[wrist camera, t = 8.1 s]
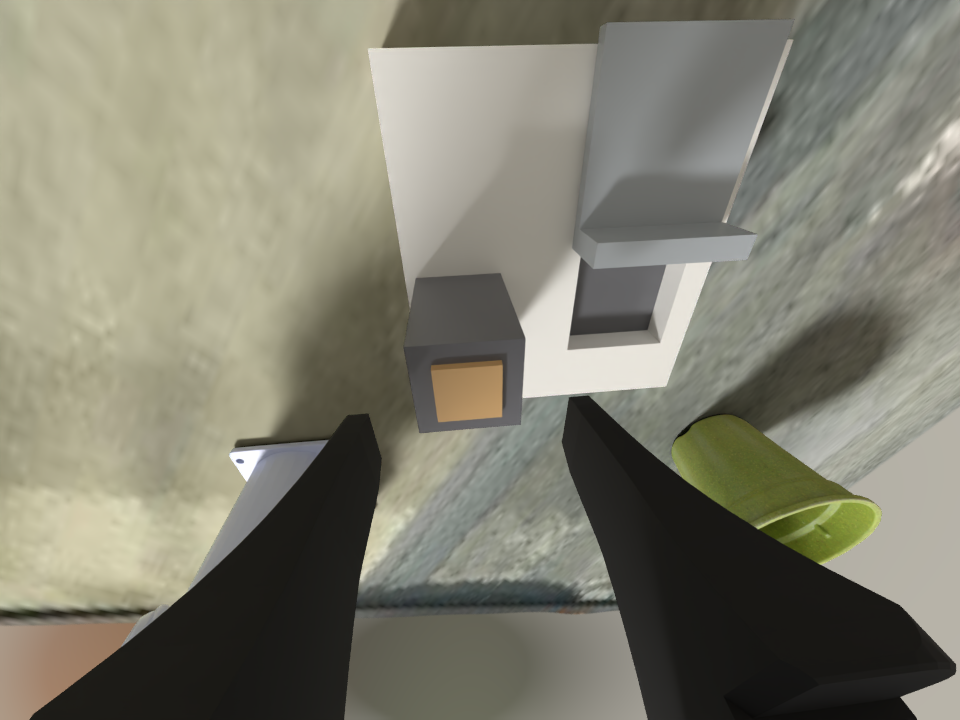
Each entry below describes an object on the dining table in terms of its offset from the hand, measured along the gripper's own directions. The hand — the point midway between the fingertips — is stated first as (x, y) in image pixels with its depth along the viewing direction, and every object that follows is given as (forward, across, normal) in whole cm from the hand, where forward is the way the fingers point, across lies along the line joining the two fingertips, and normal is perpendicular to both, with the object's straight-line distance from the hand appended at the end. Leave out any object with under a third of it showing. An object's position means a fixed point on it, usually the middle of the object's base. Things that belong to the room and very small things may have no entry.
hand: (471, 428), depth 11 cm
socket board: (+10, -5, -2) cm, 11 cm away
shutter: (+8, -9, -7) cm, 13 cm away
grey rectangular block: (+8, 0, 0) cm, 8 cm away
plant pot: (+10, -20, +14) cm, 26 cm away
